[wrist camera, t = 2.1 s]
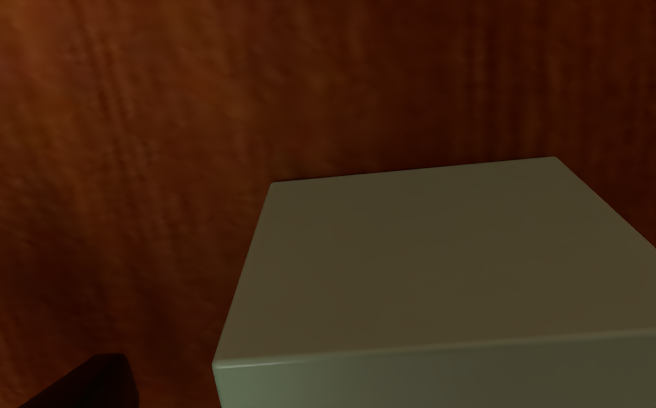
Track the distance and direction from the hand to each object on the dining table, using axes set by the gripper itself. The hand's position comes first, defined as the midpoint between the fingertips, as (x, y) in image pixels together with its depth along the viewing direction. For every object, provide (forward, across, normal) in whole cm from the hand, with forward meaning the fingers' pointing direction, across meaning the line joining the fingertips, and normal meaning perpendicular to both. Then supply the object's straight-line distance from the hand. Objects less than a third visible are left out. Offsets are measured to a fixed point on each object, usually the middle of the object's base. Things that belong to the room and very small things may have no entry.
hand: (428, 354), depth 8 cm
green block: (+2, 0, 0) cm, 2 cm away
